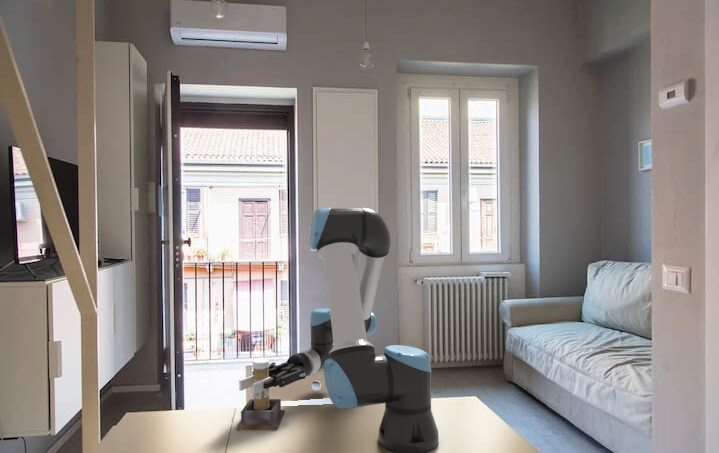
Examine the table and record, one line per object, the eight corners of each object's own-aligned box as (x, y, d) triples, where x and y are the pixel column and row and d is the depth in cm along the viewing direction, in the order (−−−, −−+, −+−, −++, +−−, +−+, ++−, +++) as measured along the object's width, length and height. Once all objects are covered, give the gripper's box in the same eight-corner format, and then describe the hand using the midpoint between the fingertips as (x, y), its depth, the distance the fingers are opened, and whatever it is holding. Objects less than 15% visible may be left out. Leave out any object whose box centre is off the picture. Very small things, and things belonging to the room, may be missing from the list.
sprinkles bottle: (272, 408, 125) (271, 360, 125) (256, 412, 122) (256, 363, 122) (266, 403, 129) (265, 356, 129) (251, 407, 126) (250, 359, 126)
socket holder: (284, 413, 131) (284, 397, 131) (277, 430, 120) (276, 413, 120) (247, 413, 131) (247, 397, 131) (236, 430, 120) (236, 413, 120)
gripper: (325, 381, 136) (270, 408, 116) (282, 371, 145) (225, 394, 126) (324, 356, 136) (269, 379, 116) (282, 348, 145) (225, 368, 126)
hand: (246, 387), depth 121 cm, fingers closed on sprinkles bottle, 4 cm apart
